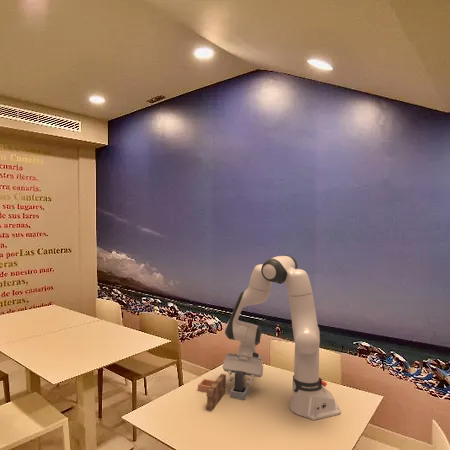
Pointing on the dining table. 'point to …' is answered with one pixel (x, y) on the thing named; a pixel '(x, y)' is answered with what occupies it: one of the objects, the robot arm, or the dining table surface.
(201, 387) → the frame
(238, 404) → the dining table surface
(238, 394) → the frame
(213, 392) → the door panel
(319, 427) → the dining table surface
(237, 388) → the bar
